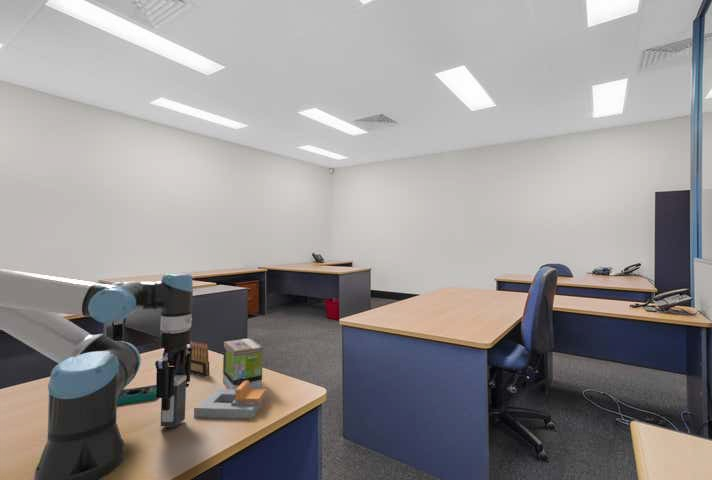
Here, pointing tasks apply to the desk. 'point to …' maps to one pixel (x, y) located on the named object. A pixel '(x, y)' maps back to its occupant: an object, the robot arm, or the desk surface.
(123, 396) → the digital multimeter
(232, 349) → the tea box
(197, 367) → the ammunition clip
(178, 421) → the plug
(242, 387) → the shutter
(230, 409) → the socket plate
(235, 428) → the desk surface
